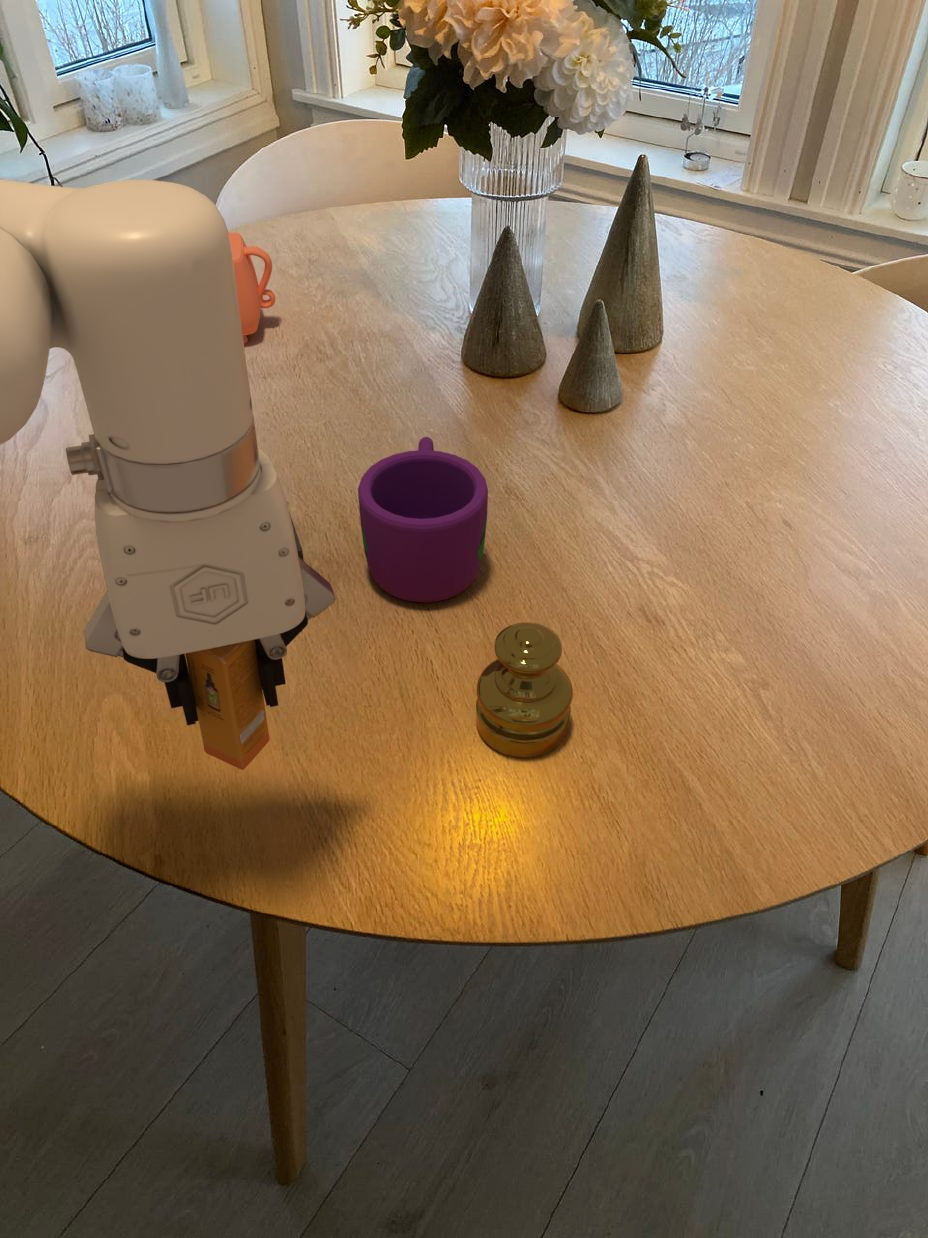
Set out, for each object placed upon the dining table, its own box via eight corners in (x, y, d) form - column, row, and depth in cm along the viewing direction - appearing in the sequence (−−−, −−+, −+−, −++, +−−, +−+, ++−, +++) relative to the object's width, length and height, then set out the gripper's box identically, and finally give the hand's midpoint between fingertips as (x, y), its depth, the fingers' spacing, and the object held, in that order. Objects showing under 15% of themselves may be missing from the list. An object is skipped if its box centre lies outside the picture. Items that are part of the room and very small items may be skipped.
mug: (486, 613, 86) (489, 525, 79) (359, 612, 86) (351, 524, 79) (483, 497, 99) (485, 412, 92) (372, 496, 98) (367, 411, 92)
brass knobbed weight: (579, 751, 75) (593, 663, 68) (487, 767, 74) (491, 679, 67) (553, 683, 80) (563, 594, 73) (466, 696, 79) (468, 608, 72)
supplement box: (275, 737, 64) (258, 629, 57) (243, 773, 62) (221, 665, 55) (235, 718, 65) (213, 610, 58) (202, 753, 63) (176, 645, 56)
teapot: (210, 373, 116) (191, 272, 107) (124, 331, 123) (100, 233, 114) (299, 329, 124) (288, 231, 116) (214, 292, 132) (198, 197, 123)
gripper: (-2, 527, 43) (93, 777, 55) (364, 468, 47) (375, 713, 60) (0, 438, 48) (86, 686, 61) (330, 392, 52) (346, 632, 65)
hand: (229, 697), depth 60 cm, fingers closed on supplement box, 4 cm apart
